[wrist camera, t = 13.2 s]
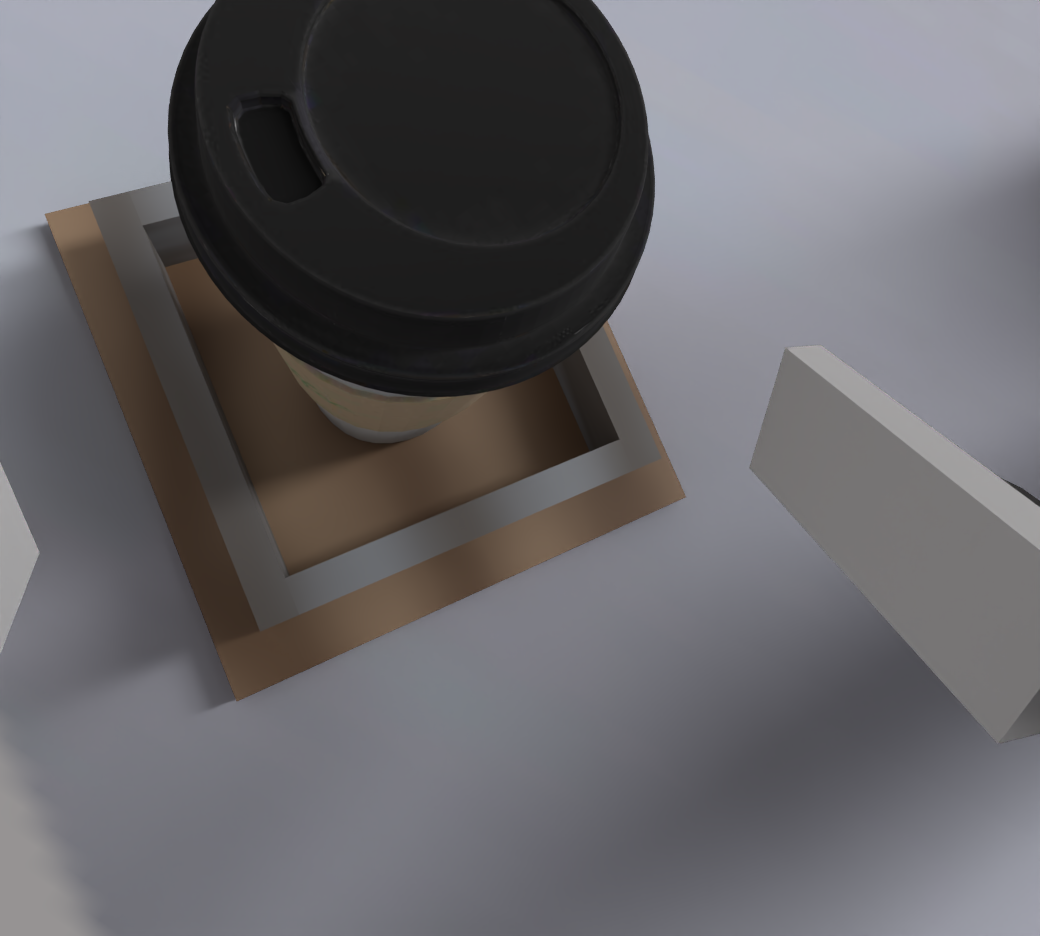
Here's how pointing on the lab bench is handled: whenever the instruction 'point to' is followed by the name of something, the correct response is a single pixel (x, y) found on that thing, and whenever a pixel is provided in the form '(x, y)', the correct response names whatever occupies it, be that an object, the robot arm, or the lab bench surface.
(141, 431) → the square rimmed tray
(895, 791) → the lab bench surface
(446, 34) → the coffee cup
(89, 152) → the lab bench surface
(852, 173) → the lab bench surface
